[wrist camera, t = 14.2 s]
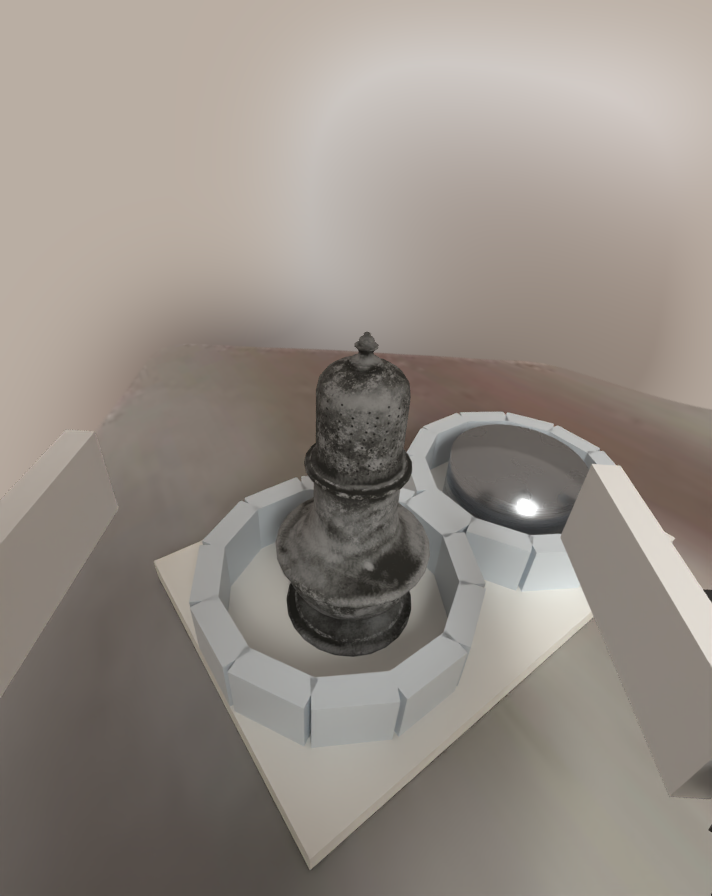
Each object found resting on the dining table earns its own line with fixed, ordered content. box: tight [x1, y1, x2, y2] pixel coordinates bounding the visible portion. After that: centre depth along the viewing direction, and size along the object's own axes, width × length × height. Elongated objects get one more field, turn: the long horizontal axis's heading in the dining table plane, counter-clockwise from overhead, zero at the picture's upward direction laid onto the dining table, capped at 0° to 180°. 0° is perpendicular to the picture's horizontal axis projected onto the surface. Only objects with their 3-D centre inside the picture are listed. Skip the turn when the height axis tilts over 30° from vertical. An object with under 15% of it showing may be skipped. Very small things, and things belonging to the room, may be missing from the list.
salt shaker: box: [276, 332, 430, 657], centre depth 17 cm, size 6×6×12 cm
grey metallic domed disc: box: [442, 424, 589, 535], centre depth 25 cm, size 7×7×3 cm
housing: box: [154, 412, 675, 870], centre depth 23 cm, size 22×13×4 cm, turn 127°
